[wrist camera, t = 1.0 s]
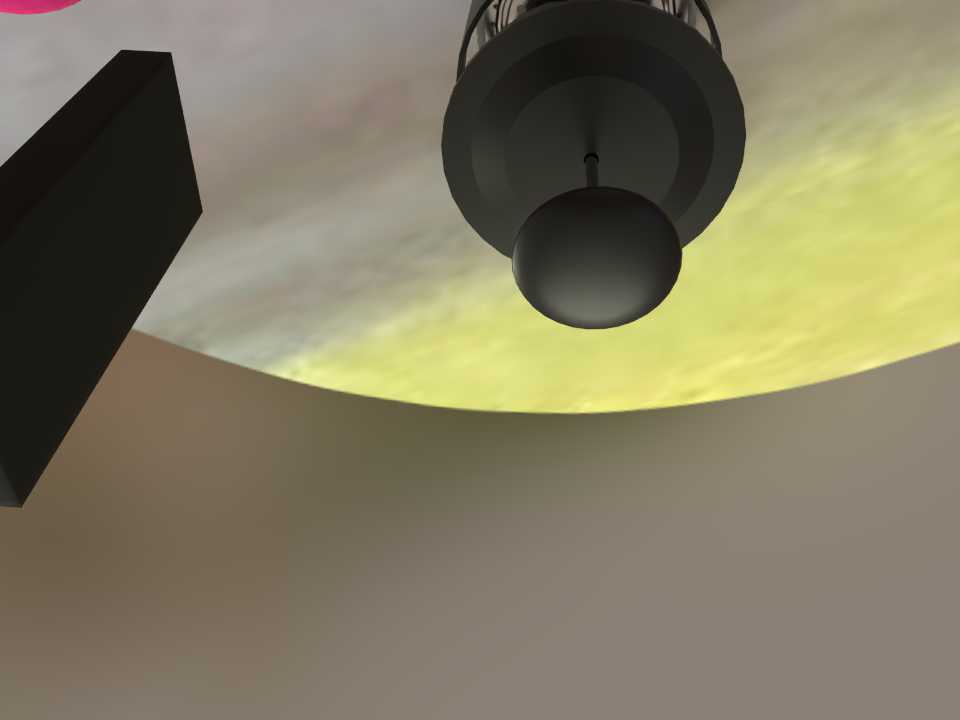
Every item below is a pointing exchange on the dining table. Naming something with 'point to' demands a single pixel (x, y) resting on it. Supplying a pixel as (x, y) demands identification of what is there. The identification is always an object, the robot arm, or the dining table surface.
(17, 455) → the robot arm
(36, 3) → the pepper mill
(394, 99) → the dining table surface
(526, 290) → the french press
